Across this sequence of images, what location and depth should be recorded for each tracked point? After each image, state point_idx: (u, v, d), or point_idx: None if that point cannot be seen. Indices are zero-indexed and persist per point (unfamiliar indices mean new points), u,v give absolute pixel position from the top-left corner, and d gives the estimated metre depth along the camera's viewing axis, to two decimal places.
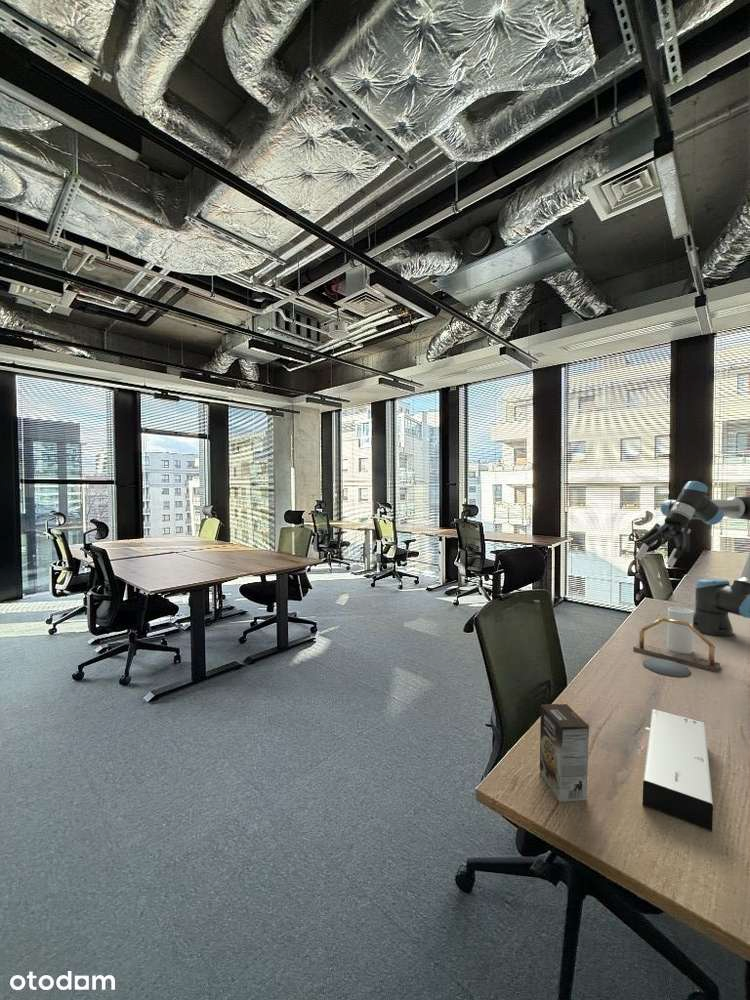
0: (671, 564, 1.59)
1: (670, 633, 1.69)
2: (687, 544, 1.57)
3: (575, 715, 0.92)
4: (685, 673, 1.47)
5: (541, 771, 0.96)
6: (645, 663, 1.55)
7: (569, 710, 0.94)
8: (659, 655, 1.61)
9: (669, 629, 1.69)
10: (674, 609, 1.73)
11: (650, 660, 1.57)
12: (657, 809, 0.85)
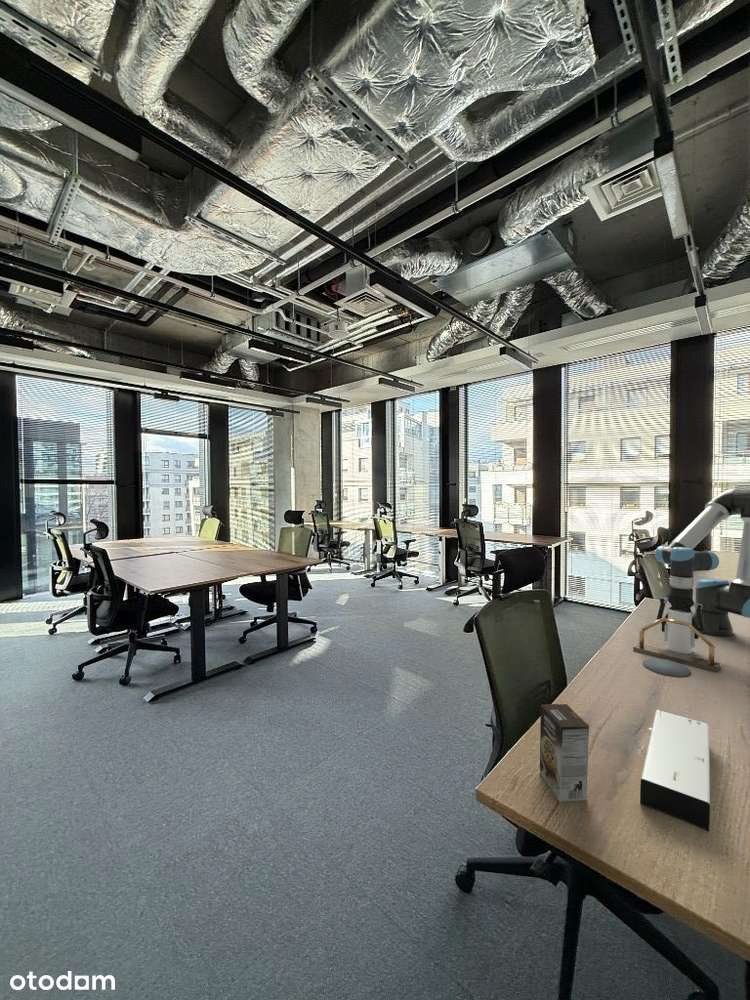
0: (694, 645, 1.66)
1: (670, 633, 1.69)
2: (703, 624, 1.63)
3: (575, 715, 0.92)
4: (685, 673, 1.47)
5: (541, 771, 0.96)
6: (645, 663, 1.55)
7: (569, 710, 0.94)
8: (659, 655, 1.61)
9: (669, 629, 1.69)
10: None
11: (650, 660, 1.57)
12: (654, 808, 0.86)
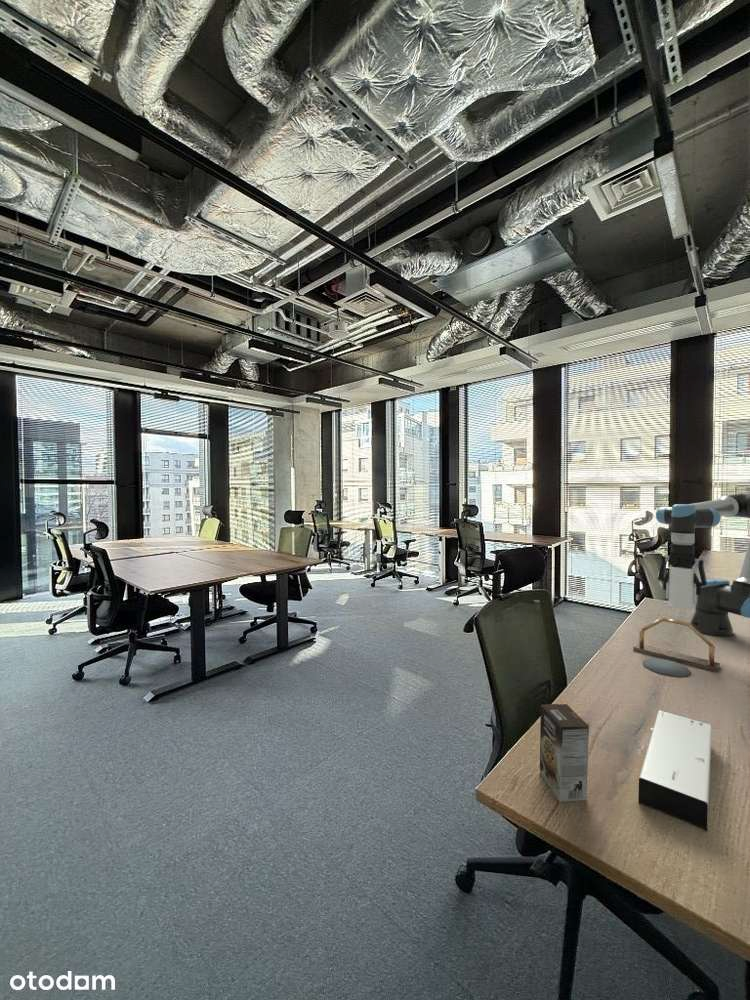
0: (696, 601, 1.65)
1: (672, 590, 1.68)
2: (705, 580, 1.62)
3: (575, 715, 0.92)
4: (685, 673, 1.47)
5: (541, 771, 0.96)
6: (645, 663, 1.55)
7: (569, 710, 0.94)
8: (659, 655, 1.61)
9: (671, 586, 1.68)
10: None
11: (650, 660, 1.57)
12: (653, 806, 0.86)
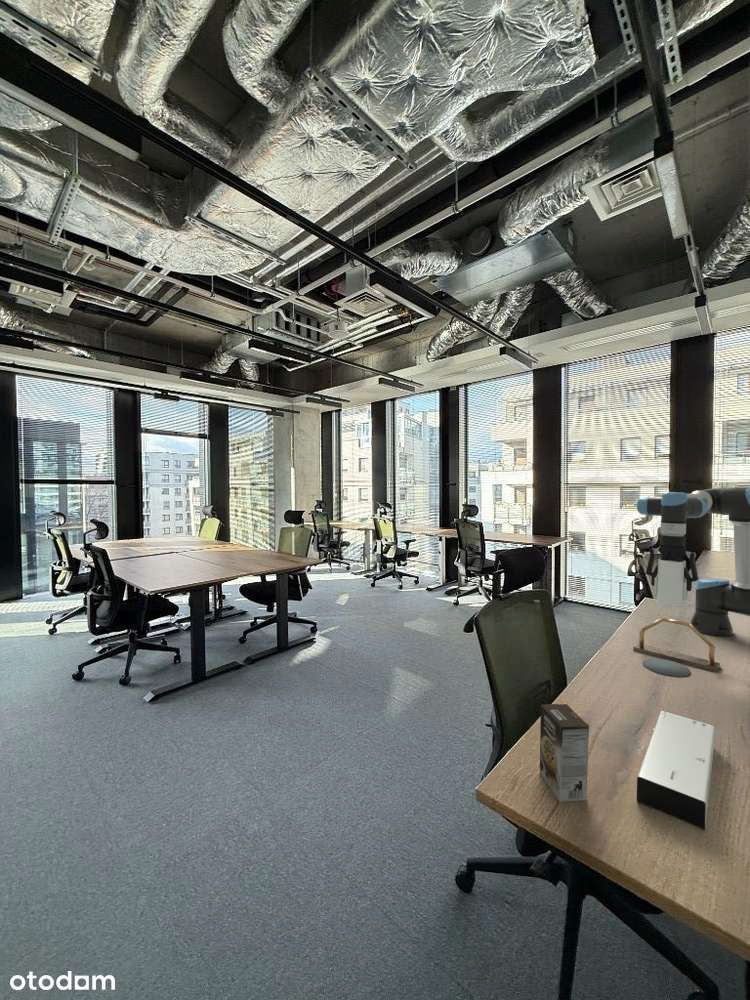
0: (686, 598, 1.51)
1: (660, 585, 1.54)
2: (696, 574, 1.48)
3: (575, 715, 0.92)
4: (685, 673, 1.47)
5: (541, 771, 0.96)
6: (645, 663, 1.55)
7: (569, 710, 0.94)
8: (659, 655, 1.61)
9: (659, 581, 1.54)
10: (665, 561, 1.58)
11: (650, 660, 1.57)
12: (651, 805, 0.86)
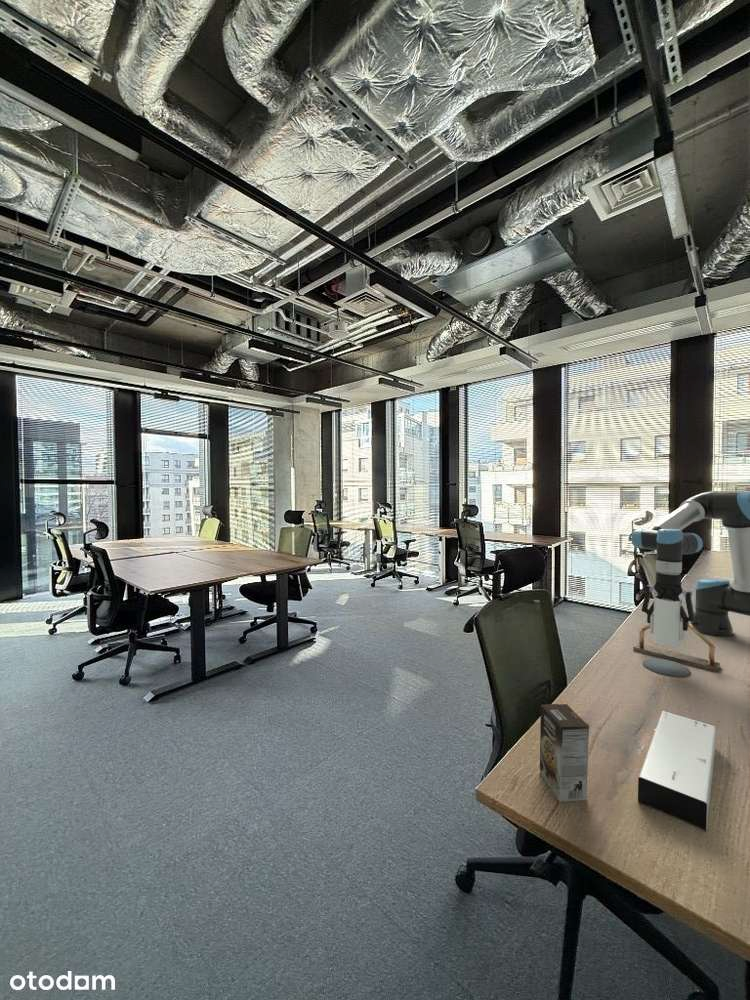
0: (683, 637, 1.49)
1: (656, 624, 1.51)
2: (693, 614, 1.46)
3: (575, 715, 0.92)
4: (685, 673, 1.47)
5: (541, 771, 0.96)
6: (645, 663, 1.55)
7: (569, 710, 0.94)
8: (659, 655, 1.61)
9: (655, 620, 1.52)
10: None
11: (650, 660, 1.57)
12: (652, 806, 0.86)
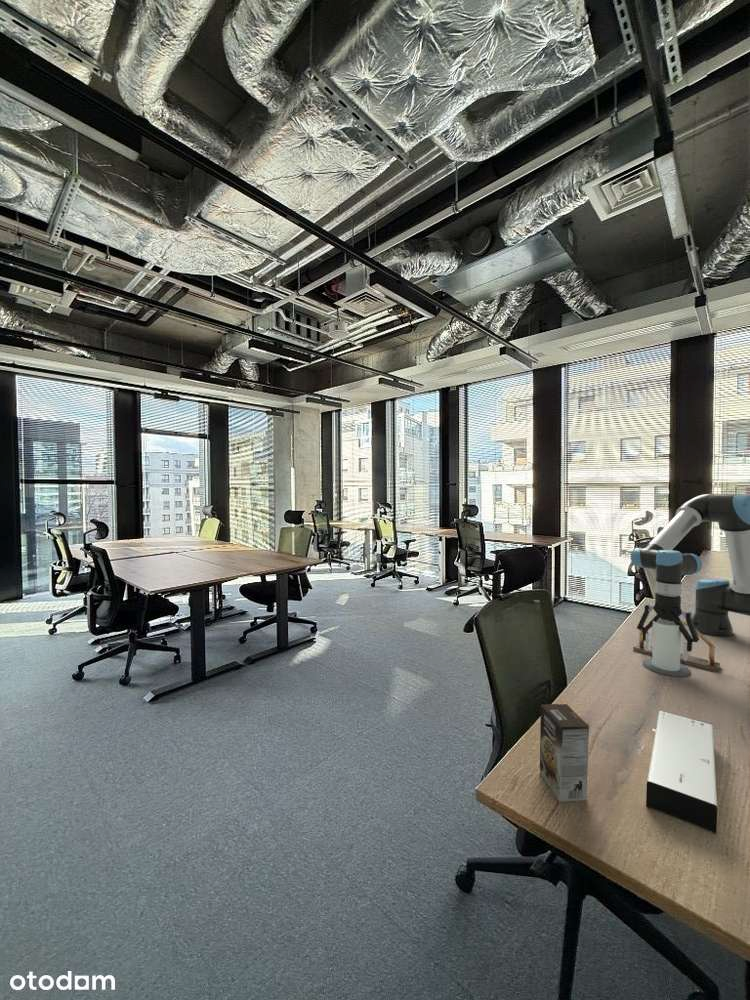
0: (687, 658, 1.48)
1: (655, 648, 1.52)
2: (696, 635, 1.45)
3: (575, 715, 0.92)
4: (685, 673, 1.47)
5: (541, 771, 0.96)
6: (645, 663, 1.55)
7: (569, 710, 0.94)
8: None
9: (654, 643, 1.52)
10: (660, 621, 1.56)
11: (650, 660, 1.57)
12: (661, 810, 0.85)
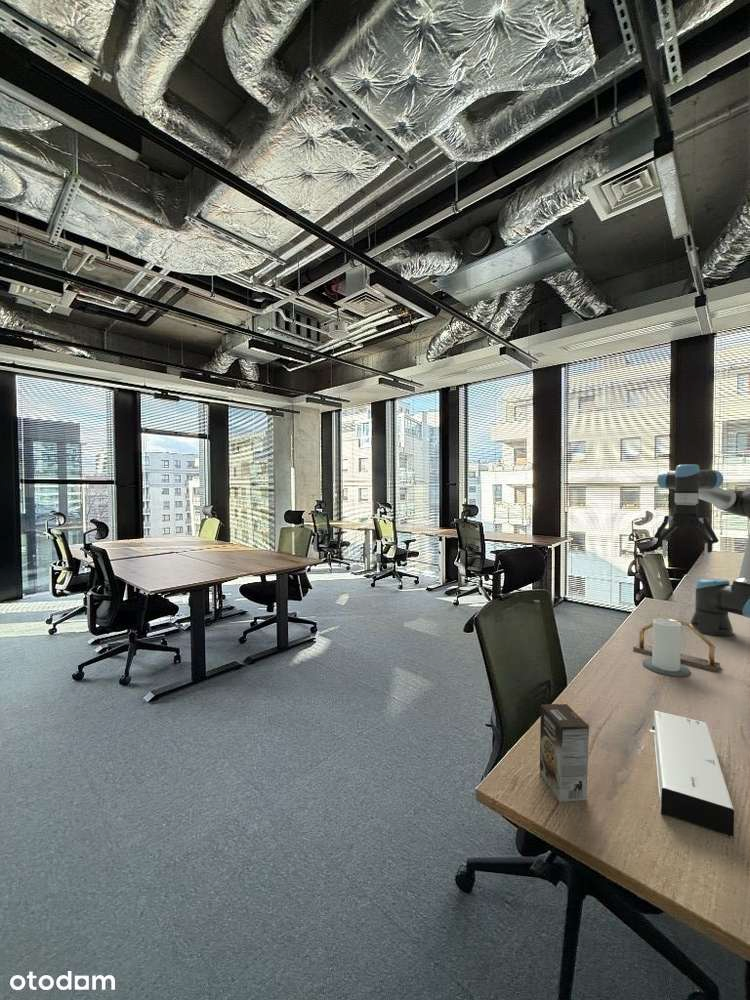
0: (707, 559, 1.61)
1: (655, 648, 1.52)
2: (715, 536, 1.59)
3: (575, 715, 0.92)
4: (685, 673, 1.47)
5: (541, 771, 0.96)
6: (645, 663, 1.55)
7: (569, 710, 0.94)
8: None
9: (654, 643, 1.52)
10: (660, 621, 1.56)
11: (650, 660, 1.57)
12: (676, 817, 0.83)
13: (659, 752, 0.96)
